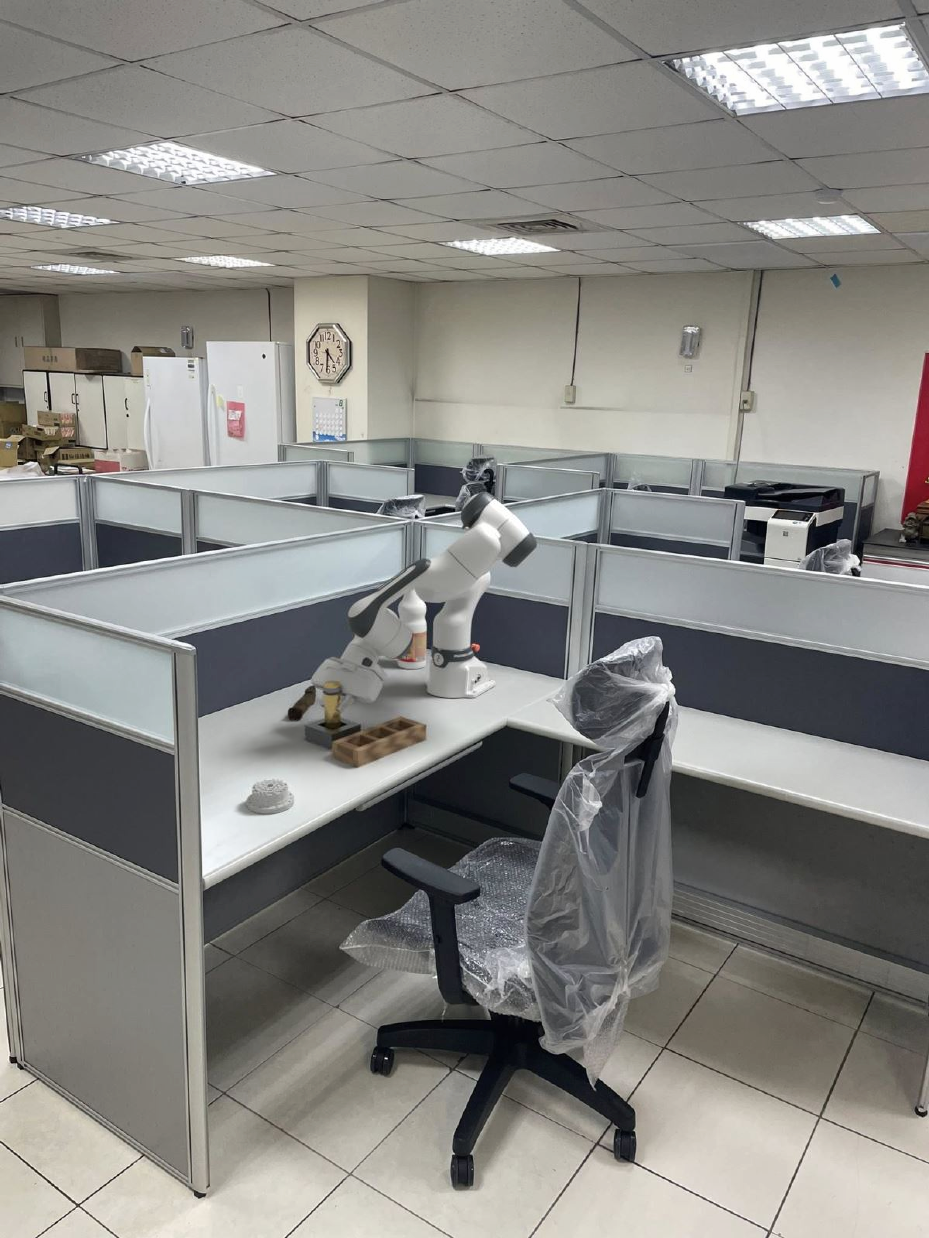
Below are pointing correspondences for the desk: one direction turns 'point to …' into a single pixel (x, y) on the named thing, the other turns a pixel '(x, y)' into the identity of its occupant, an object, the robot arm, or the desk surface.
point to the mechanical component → (270, 797)
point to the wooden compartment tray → (378, 741)
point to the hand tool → (302, 704)
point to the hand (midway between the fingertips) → (330, 708)
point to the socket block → (329, 732)
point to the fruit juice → (414, 630)
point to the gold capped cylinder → (332, 704)
